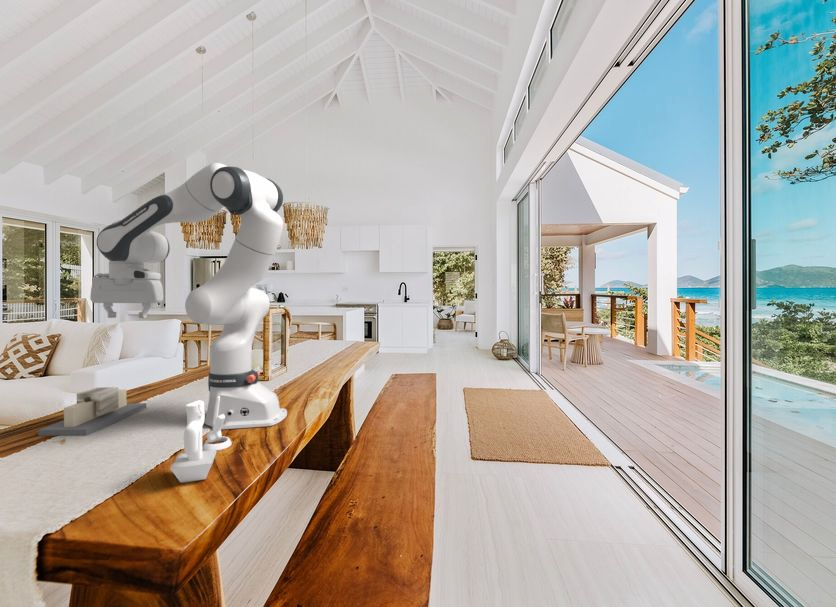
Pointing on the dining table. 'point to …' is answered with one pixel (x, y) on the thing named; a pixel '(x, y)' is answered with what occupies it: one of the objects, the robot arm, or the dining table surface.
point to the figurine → (193, 448)
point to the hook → (216, 436)
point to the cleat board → (92, 422)
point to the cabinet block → (101, 399)
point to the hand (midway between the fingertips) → (127, 317)
